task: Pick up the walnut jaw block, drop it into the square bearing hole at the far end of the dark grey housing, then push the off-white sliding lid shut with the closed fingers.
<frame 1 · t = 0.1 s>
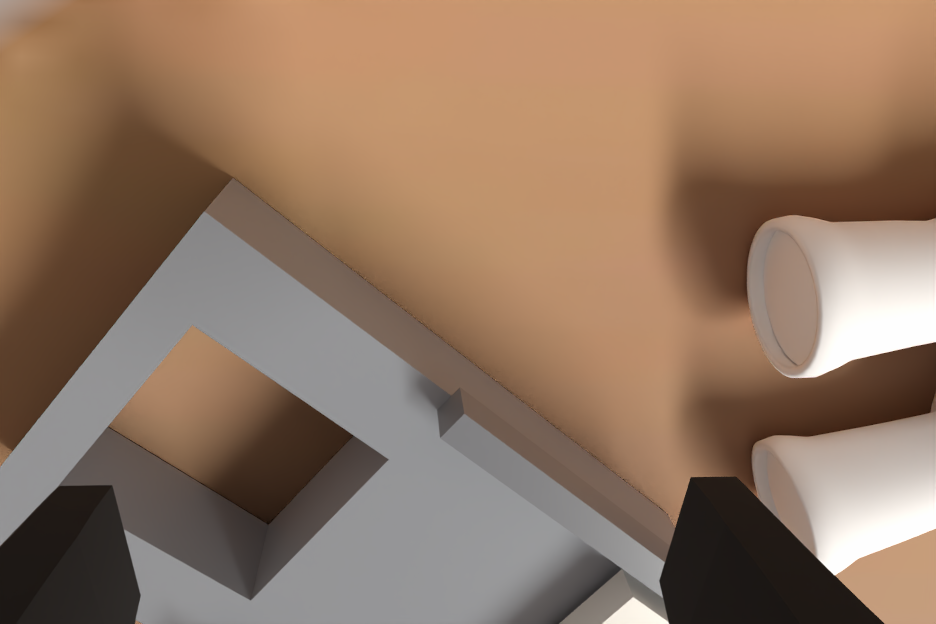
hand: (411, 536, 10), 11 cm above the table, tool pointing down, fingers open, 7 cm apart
housing: (361, 485, 22), on the table
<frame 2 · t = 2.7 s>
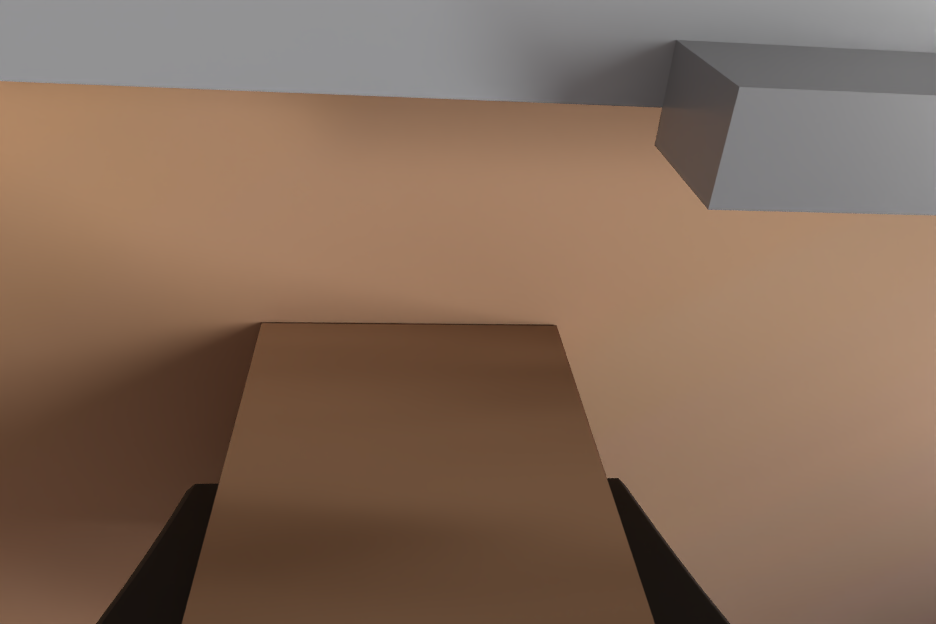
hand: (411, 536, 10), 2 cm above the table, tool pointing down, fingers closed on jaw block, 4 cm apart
jaw block: (408, 435, 11), on the table, touching gripper
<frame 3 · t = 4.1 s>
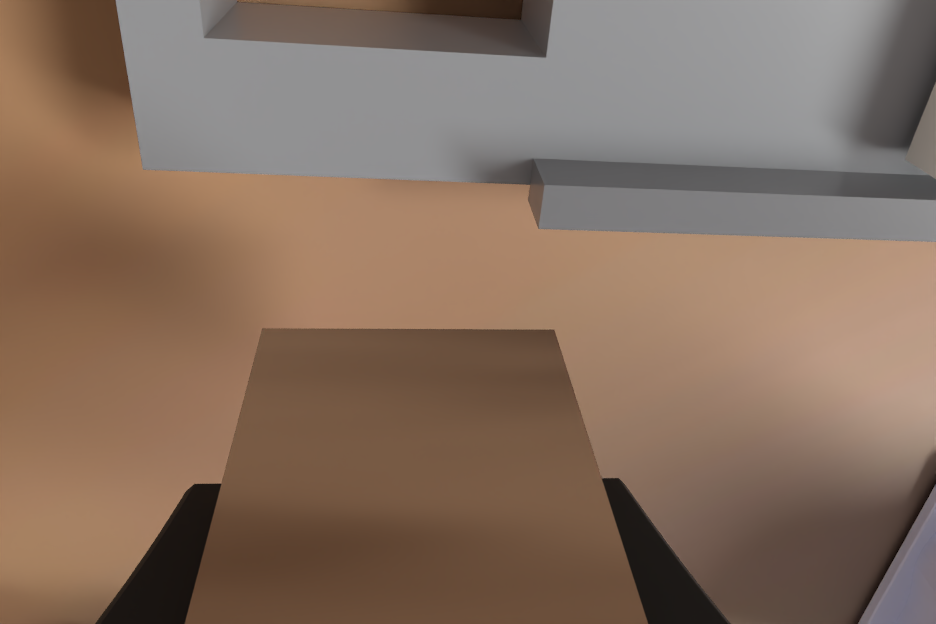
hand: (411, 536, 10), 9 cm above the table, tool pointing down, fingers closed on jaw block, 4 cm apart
jaw block: (408, 438, 11), point 7 cm above the table, touching gripper
when the fingers open (4 cm above the table, at t = 6.0 s): jaw block drops 2 cm, resting in housing.
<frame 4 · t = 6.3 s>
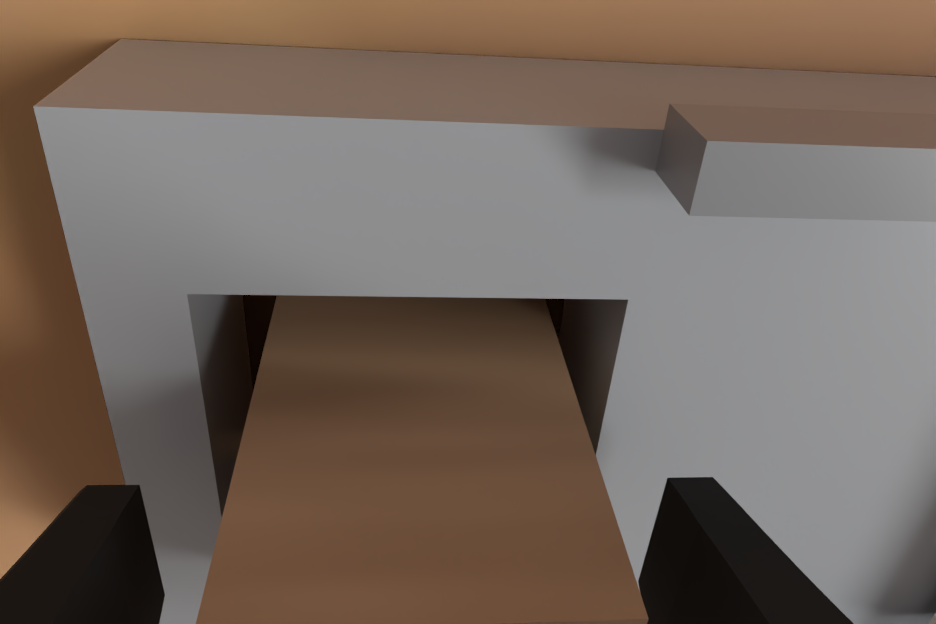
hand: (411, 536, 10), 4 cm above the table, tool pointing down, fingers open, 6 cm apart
housing: (624, 342, 14), on the table
jaw block: (408, 350, 14), resting in housing
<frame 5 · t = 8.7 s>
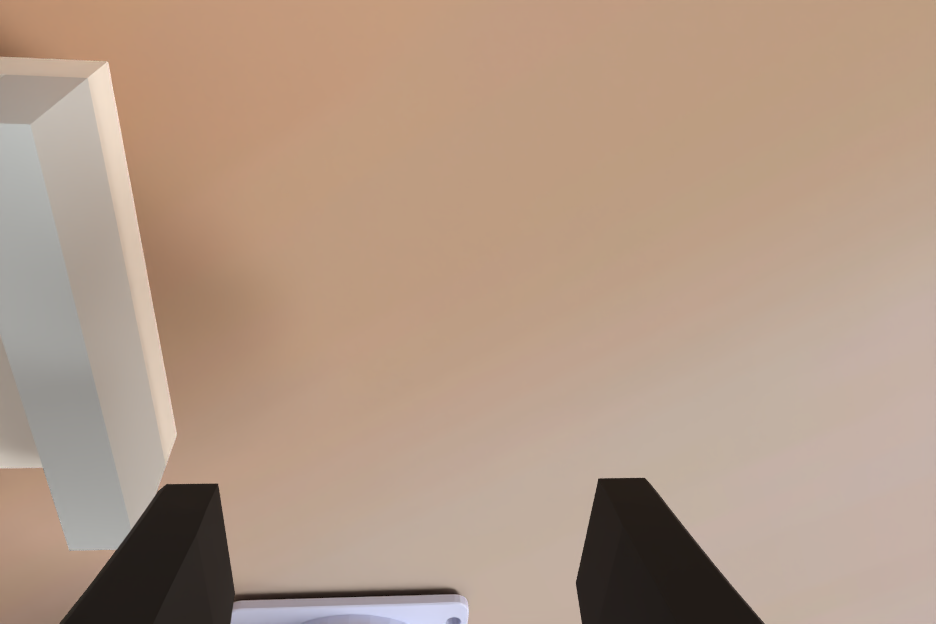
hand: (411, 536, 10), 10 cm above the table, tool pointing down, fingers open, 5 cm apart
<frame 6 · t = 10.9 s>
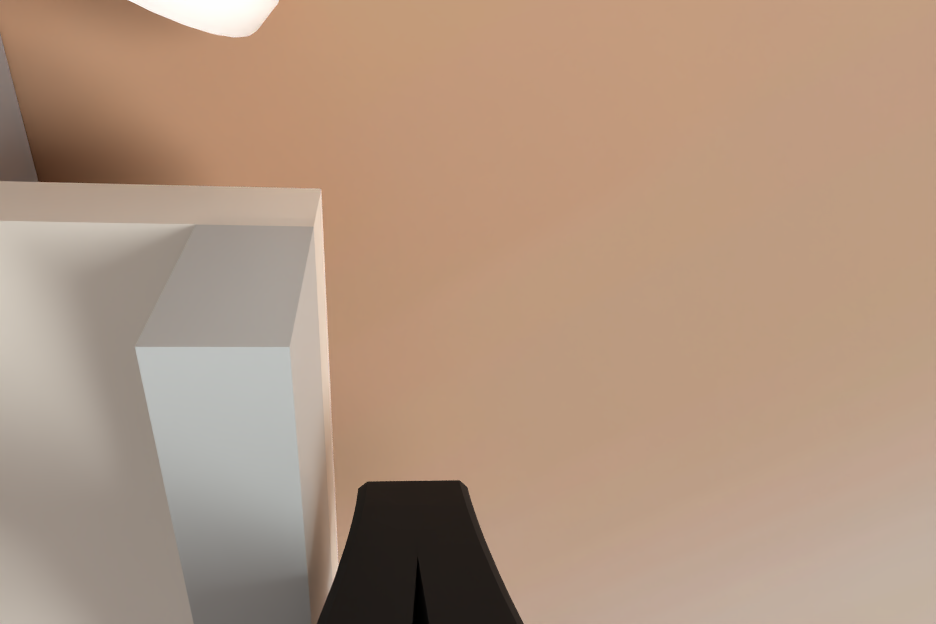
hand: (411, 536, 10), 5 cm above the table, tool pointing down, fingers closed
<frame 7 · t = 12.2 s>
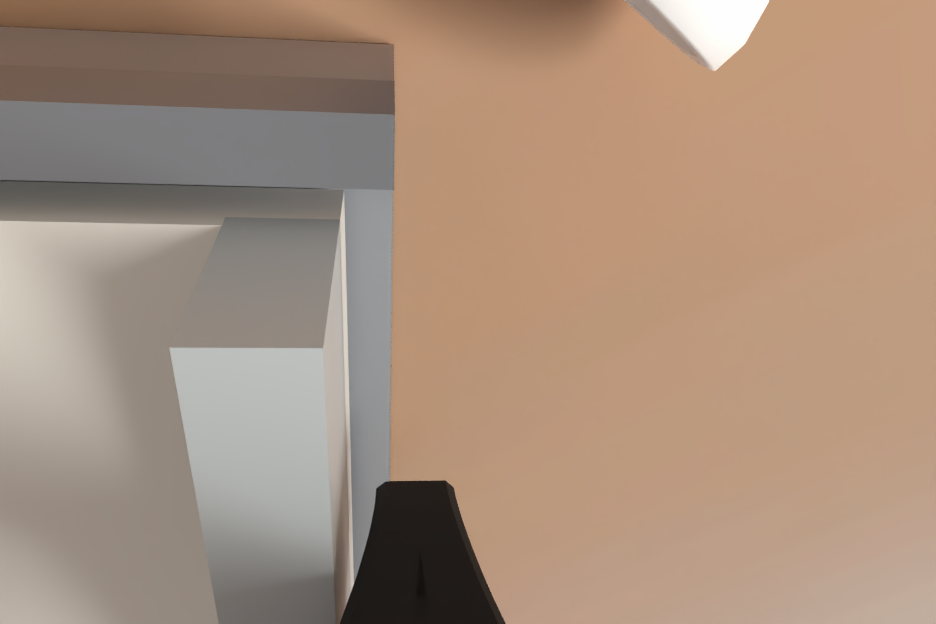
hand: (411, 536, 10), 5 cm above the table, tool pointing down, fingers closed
lid: (13, 546, 9), point 5 cm above the table, slide at -0.1 cm, touching gripper
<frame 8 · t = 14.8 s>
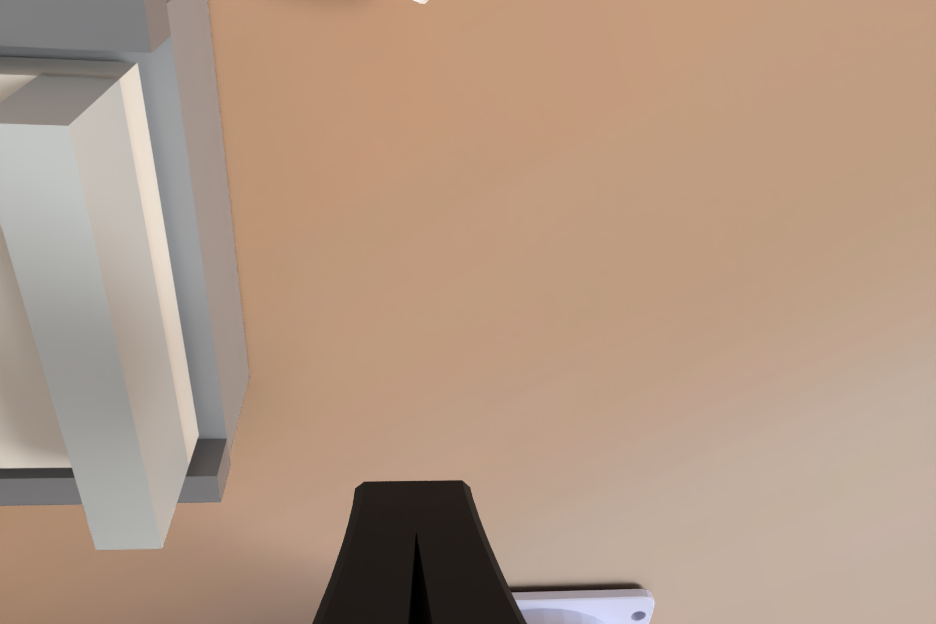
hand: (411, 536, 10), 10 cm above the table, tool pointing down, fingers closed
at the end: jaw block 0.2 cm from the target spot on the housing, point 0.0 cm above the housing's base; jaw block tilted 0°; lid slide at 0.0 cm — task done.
